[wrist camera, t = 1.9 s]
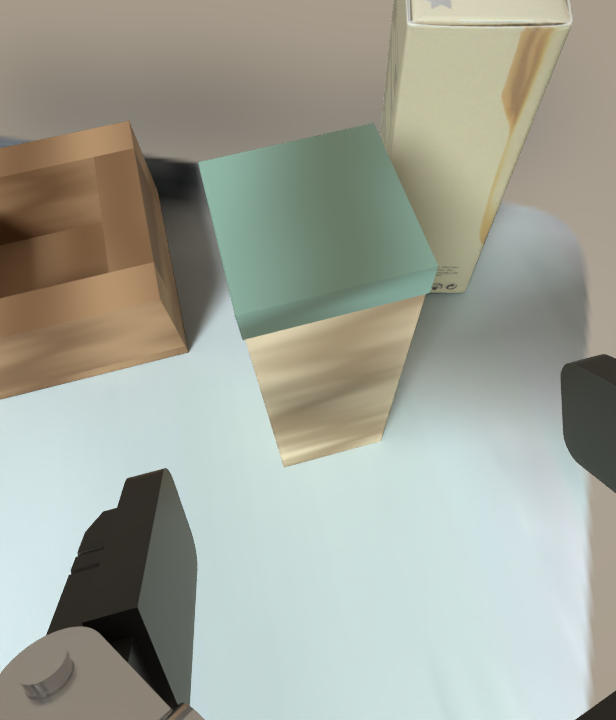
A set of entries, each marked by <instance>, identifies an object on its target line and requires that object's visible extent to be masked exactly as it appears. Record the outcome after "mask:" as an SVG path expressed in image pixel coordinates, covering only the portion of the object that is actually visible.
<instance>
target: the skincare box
mask: <svg viewBox="0 0 616 720" xmlns="http://www.w3.org/2000/svg"><path fill="white" fill-rule="evenodd" d="M572 24H573V19H572V11H571V6H570V0H394V4H393V14H392V24H391V34H390V44H389V53H388V63H387V73H386V84H385V92H384V102H383V113H382V122H381V131H380V138H381V140H382V142H383V144H384V147H385V149H386V151H387V153H388V156H389V158H390V160H391V162H392V164H393V167H394V169H395V171H396V173H397V175H398V178H399V180H400V182H401V184H402V187H403V189H404V191H405V193H406V195H407V198H408V200H409V202H410V204H411V206H412V209H413V211H414V213H415V215H416V218H417V220H418V222H419V224H420V226H421V229H422V231H423V233H424V235H425V237H426V240H427V242H428V244H429V246H430V249H431V251H432V253H433V255H434V257H435V260H436V262H437V264H438V269H437V272H436V275H435V278H434V281H433V284H432V287H431V291H430V293H463V292H465V291H466V289H467V286H468V284H469V281H470V278H471V276H472V273H473V271H474V268H475V266H476V263H477V261H478V258H479V256H480V253H481V251H482V248H483V245H484V243H485V240H486V238H487V235H488V233H489V230H490V228H491V225H492V223H493V220H494V218H495V215H496V213H497V211H498V208H499V205H500V203H501V200H502V197H503V195H504V192H505V190H506V188H507V185H508V183H509V180H510V178H511V175H512V173H513V170H514V167H515V165H516V162H517V160H518V158H519V155H520V153H521V150H522V148H523V145H524V143H525V140H526V137H527V135H528V132H529V130H530V127H531V125H532V122H533V120H534V117H535V115H536V112H537V109H538V107H539V105H540V102H541V100H542V98H543V95H544V92H545V90H546V87H547V84H548V83H549V80H550V77H551V75H552V72H553V70H554V67H555V65H556V62H557V60H558V57H559V55H560V53H561V50H562V47H563V45H564V43H565V40H566V38H567V36H568V33H569V31H570V29H571V26H572Z"/></svg>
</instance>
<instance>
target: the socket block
mask: <svg viewBox="0 0 616 720" xmlns="http://www.w3.org/2000/svg"><path fill="white" fill-rule="evenodd" d="M184 353H188V347H187V342H186V337H185V331H184V326H183V321H182V316H181V310H180V305H179V300H178V295H177V289H176V284H175V279H174V274H173V269H172V263H171V258H170V253H169V248H168V242H167V237H166V232H165V227H164V222H163V216H162V211H161V206H160V201H159V195H158V191H157V189H156V186H155V184H154V181H153V179H152V176H151V174H150V171H149V169H148V166H147V164H146V161H145V159H144V157H143V154H142V152H141V149H140V147H139V144H138V142H137V139H136V137H135V135H134V132H133V129H132V127H131V124H130V123H129V121H126V122H122V123H117V124H112V125H107V126H103V127H98V128H93V129H89V130H84V131H79V132H75V133H70V134H65V135H61V136H56V137H51V138H47V139H42V140H37V141H32V142H28V143H23V144H18V145H14V146H9V147H4V148H0V399H4V398H8V397H12V396H16V395H20V394H24V393H28V392H32V391H36V390H40V389H44V388H48V387H52V386H56V385H60V384H64V383H68V382H72V381H76V380H80V379H84V378H88V377H92V376H96V375H100V374H104V373H108V372H112V371H116V370H120V369H124V368H128V367H132V366H136V365H140V364H144V363H148V362H152V361H156V360H160V359H164V358H168V357H172V356H176V355H180V354H184Z"/></svg>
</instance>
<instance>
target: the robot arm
mask: <svg viewBox="0 0 616 720" xmlns="http://www.w3.org/2000/svg"><path fill="white" fill-rule="evenodd" d="M561 395H562V417H563V435H564V440H565V443H566V446H567V448H568V450H569V452H570V454H571V455H572V457H573V458H574V459H575V461H576V462H577V463H578V464H580V465H581V466H582V467H583V468H585V469H586V470H587V471H588V472H590V473H591V474H592V475H594V476H595V477H596V478H597V479H599V480H600V481H601V482H602V483H604V484H605V485H606V486H607V487H609V488H610V489H611V490H613V491H614V492H615V493H616V359H615V358H613V357H611V356H608V355H604V354H602V355H598V356H594V357H590V358H586V359H583V360H579V361H575V362H571V363H567V364H566V365H565V366H564V367H563V369H562V371H561ZM196 583H197V556H196V549H195V544H194V540H193V536H192V533H191V530H190V527H189V524H188V521H187V518H186V515H185V513H184V510H183V507H182V504H181V501H180V498H179V495H178V492H177V489H176V486H175V484H174V481H173V478H172V476H171V474H170V472H169V470H168V469H167V468H164V469H161V470H157V471H153V472H149V473H145V474H142V475H138V476H134V477H130V478H127V479H126V481H125V484H124V487H123V490H122V494H121V497H120V500H119V503H118V507H117V508H115V509H111V510H107V511H104V512H102V514H101V515H100V516H99V517H98V518H97V519H96V520H95V522H94V523H93V524H92V525H91V526H90V527H89V528H88V530H87V531H86V532H85V534H84V537H83V539H82V542H81V545H80V547H79V550H78V557H76V558H75V561H74V563H73V566H72V568H71V575H69V576H68V579H67V582H66V584H65V587H64V590H63V592H62V595H61V598H60V600H59V603H58V605H57V608H56V611H55V613H54V616H53V619H52V621H51V624H50V627H49V629H48V632H47V635H46V636H45V637H43V638H41V639H39V640H37V641H36V642H34V643H33V644H31V645H30V646H28V647H27V648H26V649H24V650H23V651H22V652H21V653H19V654H18V655H17V656H16V657H15V658H14V659H13V660H12V661H11V662H10V663H9V664H8V665H7V666H6V667H5V668H4V670H3V671H2V672H1V674H0V720H204V719H203V718H202V717H201V716H200V715H199V714H198V713H197V712H196V711H195V710H194V709H193V708H192V707H190V691H191V673H192V655H193V637H194V619H195V601H196ZM576 720H616V691H615V692H613V693H612V694H611V695H609V696H608V697H606V698H605V699H604V700H602V701H601V702H599V703H598V704H597V705H595V706H594V707H593V708H591V709H590V710H588V711H587V712H586V713H584V714H583V715H581V716H580V717H579V718H577V719H576Z"/></svg>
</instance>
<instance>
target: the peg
mask: <svg viewBox="0 0 616 720" xmlns="http://www.w3.org/2000/svg"><path fill="white" fill-rule="evenodd" d="M198 164H199V168H200V172H201V177H202V181H203V185H204V189H205V193H206V197H207V201H208V206H209V210H210V214H211V218H212V222H213V226H214V230H215V235H216V239H217V243H218V247H219V251H220V255H221V259H222V264H223V268H224V272H225V276H226V280H227V284H228V288H229V293H230V297H231V301H232V305H233V309H234V313H235V317H236V320H237V323H238V327H239V330H240V333H241V336H242V339H243V340H245V341H246V344H247V347H248V350H249V354H250V357H251V360H252V364H253V367H254V370H255V374H256V377H257V380H258V383H259V387H260V390H261V393H262V397H263V400H264V403H265V406H266V410H267V413H268V416H269V420H270V423H271V426H272V429H273V433H274V436H275V439H276V443H277V446H278V449H279V452H280V456H281V459H282V462H283V466H284V467H287V466H291V465H294V464H298V463H302V462H305V461H309V460H313V459H316V458H320V457H324V456H327V455H331V454H335V453H338V452H342V451H346V450H349V449H353V448H357V447H360V446H364V445H368V444H371V443H375V442H379V441H381V438H382V435H383V432H384V428H385V425H386V422H387V419H388V415H389V412H390V409H391V406H392V402H393V399H394V396H395V393H396V389H397V386H398V383H399V380H400V376H401V373H402V370H403V367H404V363H405V360H406V357H407V354H408V351H409V347H410V344H411V341H412V338H413V334H414V331H415V328H416V325H417V321H418V318H419V315H420V312H421V308H422V305H423V302H424V299H425V295H426V294H428V293H430V291H431V287H432V284H433V281H434V278H435V275H436V272H437V269H438V264H437V262H436V260H435V257H434V255H433V253H432V251H431V249H430V246H429V244H428V242H427V240H426V237H425V235H424V233H423V231H422V229H421V226H420V224H419V222H418V220H417V218H416V215H415V213H414V211H413V209H412V206H411V204H410V202H409V200H408V198H407V195H406V193H405V191H404V189H403V187H402V184H401V182H400V180H399V178H398V175H397V173H396V171H395V169H394V167H393V164H392V162H391V160H390V158H389V156H388V153H387V151H386V149H385V147H384V144H383V142H382V140H381V138H380V136H379V133H378V131H377V129H376V127H375V125H374V123H372V124H368V125H363V126H359V127H354V128H350V129H346V130H341V131H336V132H332V133H327V134H323V135H318V136H314V137H310V138H305V139H300V140H296V141H292V142H287V143H283V144H278V145H274V146H269V147H265V148H260V149H255V150H251V151H246V152H242V153H237V154H233V155H228V156H224V157H220V158H215V159H211V160H206V161H201V162H198Z"/></svg>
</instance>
